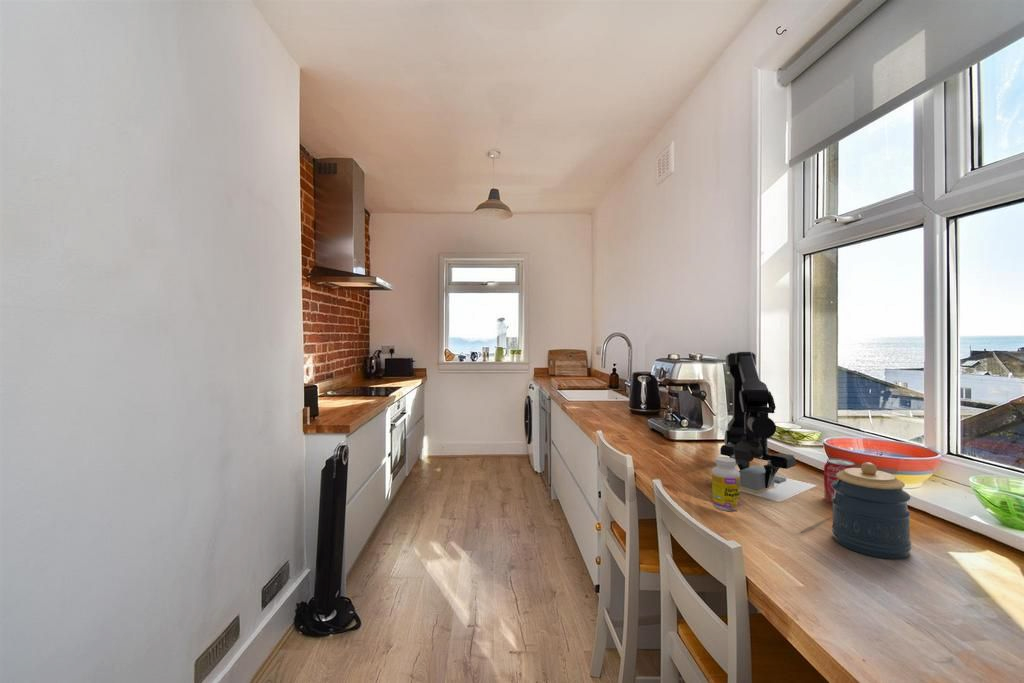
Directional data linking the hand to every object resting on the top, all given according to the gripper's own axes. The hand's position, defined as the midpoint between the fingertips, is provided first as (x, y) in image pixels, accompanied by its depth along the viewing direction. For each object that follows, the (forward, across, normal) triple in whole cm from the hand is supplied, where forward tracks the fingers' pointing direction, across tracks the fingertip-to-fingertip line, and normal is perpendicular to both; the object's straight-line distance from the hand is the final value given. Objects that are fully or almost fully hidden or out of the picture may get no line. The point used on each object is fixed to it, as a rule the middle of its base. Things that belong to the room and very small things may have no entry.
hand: (756, 485), depth 124 cm
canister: (+3, +30, -12) cm, 32 cm away
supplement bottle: (+3, +1, -17) cm, 17 cm away
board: (+2, 0, +5) cm, 5 cm away
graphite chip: (+1, 0, +11) cm, 11 cm away
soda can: (+2, +18, +7) cm, 19 cm away
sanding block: (+1, 0, 0) cm, 1 cm away
